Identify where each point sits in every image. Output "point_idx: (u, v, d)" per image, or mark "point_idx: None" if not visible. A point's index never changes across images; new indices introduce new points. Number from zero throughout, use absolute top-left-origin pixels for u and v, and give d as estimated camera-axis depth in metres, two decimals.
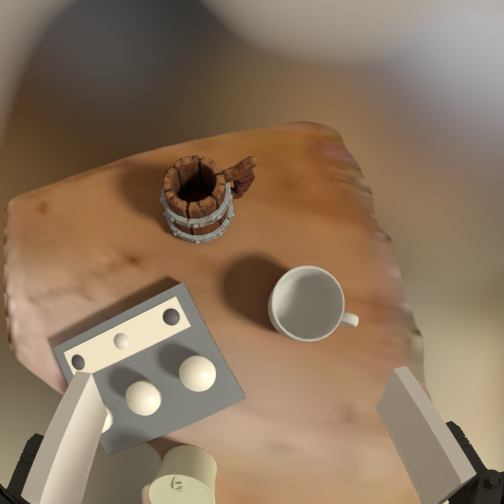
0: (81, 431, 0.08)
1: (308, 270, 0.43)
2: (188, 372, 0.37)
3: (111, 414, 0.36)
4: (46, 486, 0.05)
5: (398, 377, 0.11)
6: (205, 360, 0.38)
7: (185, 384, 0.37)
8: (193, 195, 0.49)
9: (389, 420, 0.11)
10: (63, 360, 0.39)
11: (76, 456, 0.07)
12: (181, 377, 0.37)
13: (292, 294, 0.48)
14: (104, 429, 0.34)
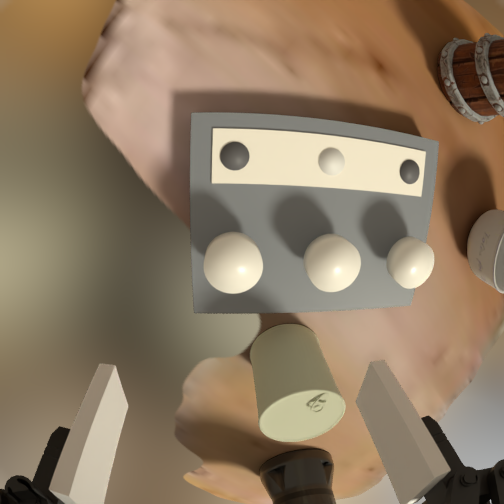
0: (106, 423, 0.09)
1: None
2: (410, 260, 0.26)
3: None
4: (75, 478, 0.06)
5: (374, 370, 0.11)
6: (432, 255, 0.26)
7: (397, 272, 0.27)
8: None
9: (367, 413, 0.11)
10: (203, 141, 0.25)
11: (101, 448, 0.08)
12: (399, 261, 0.26)
13: None
14: (240, 289, 0.26)
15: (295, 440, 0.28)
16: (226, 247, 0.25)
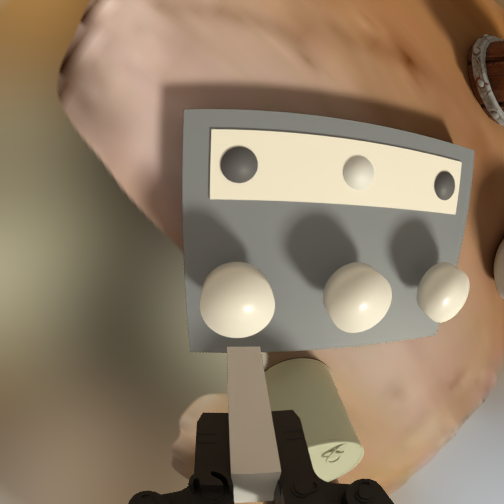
0: None
1: None
2: (444, 291, 0.21)
3: None
4: (252, 455, 0.08)
5: (244, 355, 0.12)
6: (467, 283, 0.21)
7: (430, 305, 0.21)
8: None
9: None
10: (199, 145, 0.20)
11: None
12: (434, 293, 0.21)
13: None
14: (246, 333, 0.20)
15: None
16: (228, 284, 0.19)
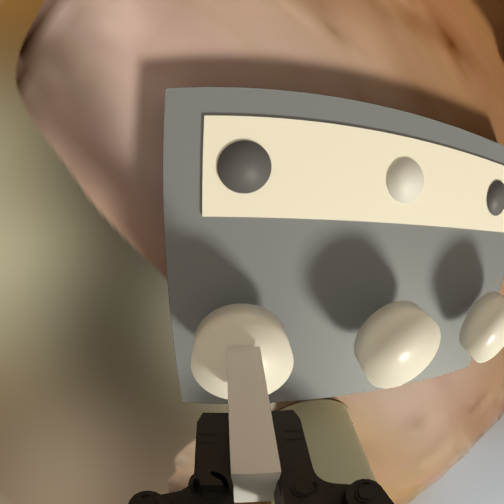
0: None
1: None
2: (494, 328, 0.15)
3: None
4: (252, 455, 0.08)
5: (244, 355, 0.12)
6: None
7: (477, 346, 0.15)
8: None
9: None
10: (187, 139, 0.14)
11: None
12: (483, 332, 0.15)
13: None
14: None
15: None
16: (230, 339, 0.13)
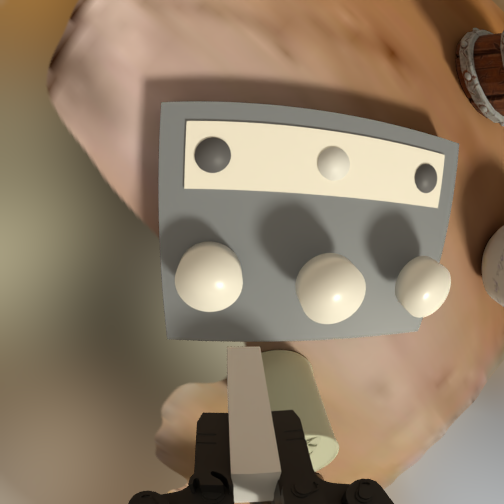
0: None
1: None
2: (423, 285, 0.21)
3: None
4: (252, 455, 0.08)
5: (244, 355, 0.12)
6: (448, 278, 0.21)
7: (408, 299, 0.22)
8: None
9: None
10: (175, 136, 0.20)
11: None
12: (411, 287, 0.21)
13: None
14: (217, 307, 0.22)
15: None
16: (200, 260, 0.21)
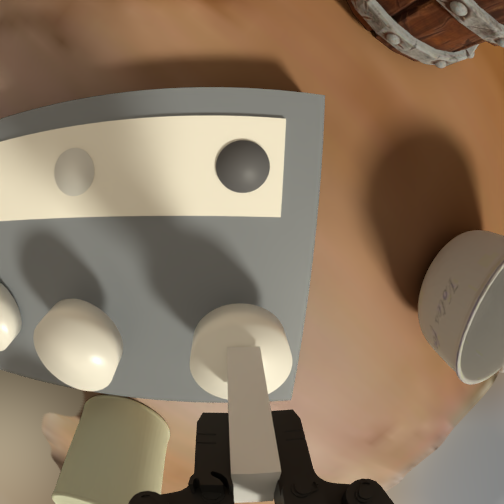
0: None
1: None
2: (221, 357, 0.13)
3: (17, 321, 0.15)
4: (252, 455, 0.08)
5: (244, 355, 0.12)
6: (283, 347, 0.14)
7: (197, 375, 0.14)
8: None
9: None
10: None
11: None
12: (195, 358, 0.13)
13: None
14: None
15: None
16: None
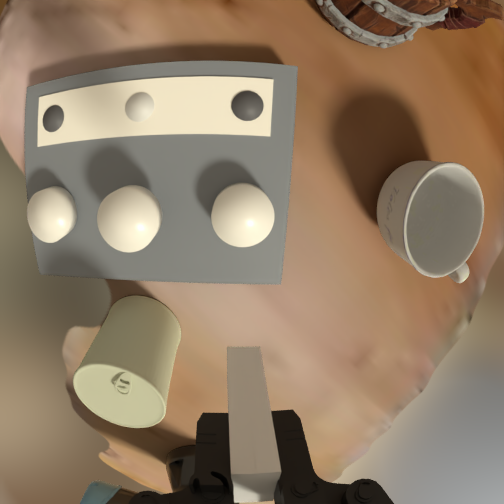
0: None
1: (466, 179, 0.22)
2: (231, 208, 0.23)
3: (74, 217, 0.24)
4: (252, 455, 0.08)
5: (244, 355, 0.12)
6: (268, 203, 0.23)
7: (215, 223, 0.24)
8: None
9: None
10: (33, 110, 0.20)
11: None
12: (215, 210, 0.23)
13: None
14: (54, 239, 0.23)
15: (125, 425, 0.24)
16: (39, 198, 0.21)
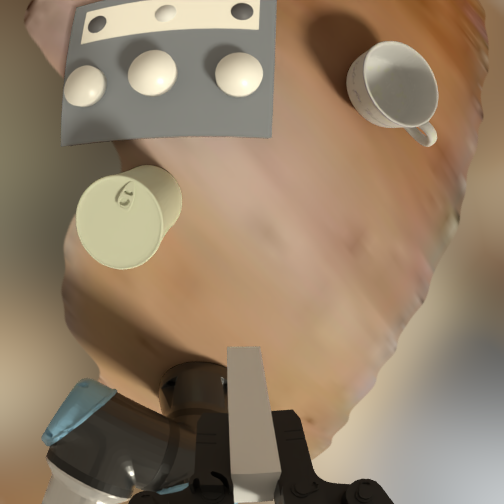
0: None
1: (415, 59, 0.26)
2: (230, 67, 0.27)
3: (104, 88, 0.27)
4: (252, 455, 0.08)
5: (244, 355, 0.12)
6: (258, 64, 0.27)
7: (218, 77, 0.27)
8: None
9: None
10: (80, 21, 0.24)
11: None
12: (218, 68, 0.27)
13: (379, 75, 0.32)
14: (85, 101, 0.26)
15: (119, 266, 0.27)
16: (78, 72, 0.25)
